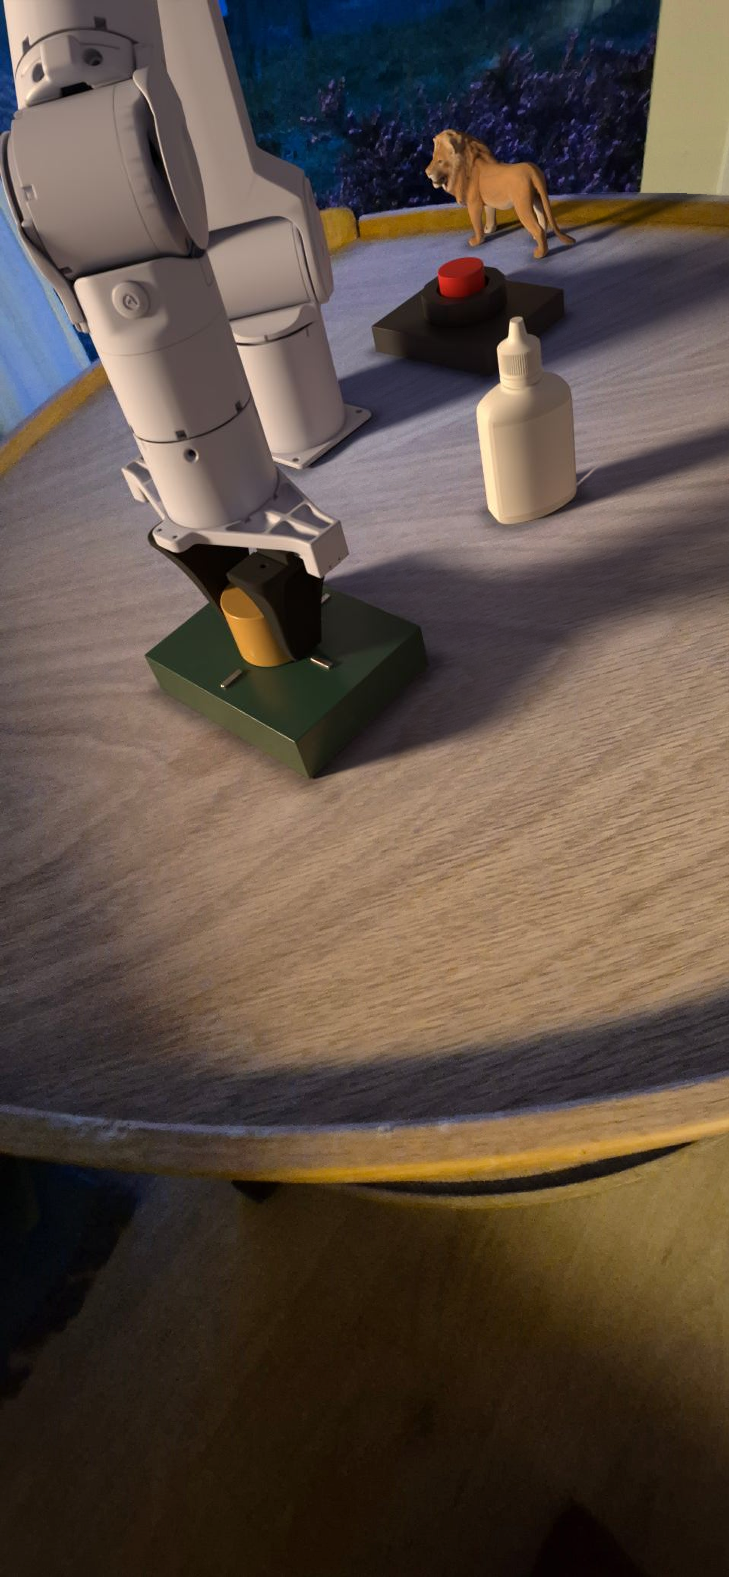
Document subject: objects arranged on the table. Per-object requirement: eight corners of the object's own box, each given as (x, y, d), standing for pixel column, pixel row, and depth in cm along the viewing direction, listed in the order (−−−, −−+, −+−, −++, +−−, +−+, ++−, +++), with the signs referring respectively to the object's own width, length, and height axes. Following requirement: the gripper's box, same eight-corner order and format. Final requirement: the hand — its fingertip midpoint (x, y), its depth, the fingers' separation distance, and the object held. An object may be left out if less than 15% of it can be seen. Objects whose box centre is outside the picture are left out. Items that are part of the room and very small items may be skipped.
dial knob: (224, 650, 53) (201, 598, 51) (278, 605, 55) (259, 552, 52) (276, 678, 51) (255, 625, 48) (331, 629, 53) (314, 575, 50)
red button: (431, 297, 75) (428, 275, 74) (459, 277, 77) (456, 254, 75) (466, 304, 73) (463, 280, 72) (495, 282, 75) (492, 259, 73)
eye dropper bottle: (575, 522, 59) (566, 332, 50) (485, 528, 61) (461, 345, 52) (578, 481, 62) (569, 294, 53) (492, 488, 63) (470, 307, 54)
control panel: (162, 691, 57) (142, 653, 55) (276, 595, 61) (262, 555, 58) (310, 780, 50) (294, 740, 48) (429, 665, 54) (420, 623, 51)
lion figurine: (428, 249, 90) (412, 142, 84) (461, 224, 92) (448, 118, 86) (560, 263, 82) (554, 146, 76) (592, 236, 84) (589, 119, 78)
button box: (376, 352, 79) (366, 304, 76) (450, 297, 83) (444, 248, 80) (489, 378, 73) (483, 326, 70) (565, 316, 76) (562, 265, 73)
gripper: (35, 420, 45) (144, 633, 55) (230, 496, 37) (315, 728, 47) (145, 349, 48) (230, 565, 58) (350, 405, 40) (406, 644, 50)
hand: (274, 634), depth 53 cm, fingers closed on dial knob, 4 cm apart
